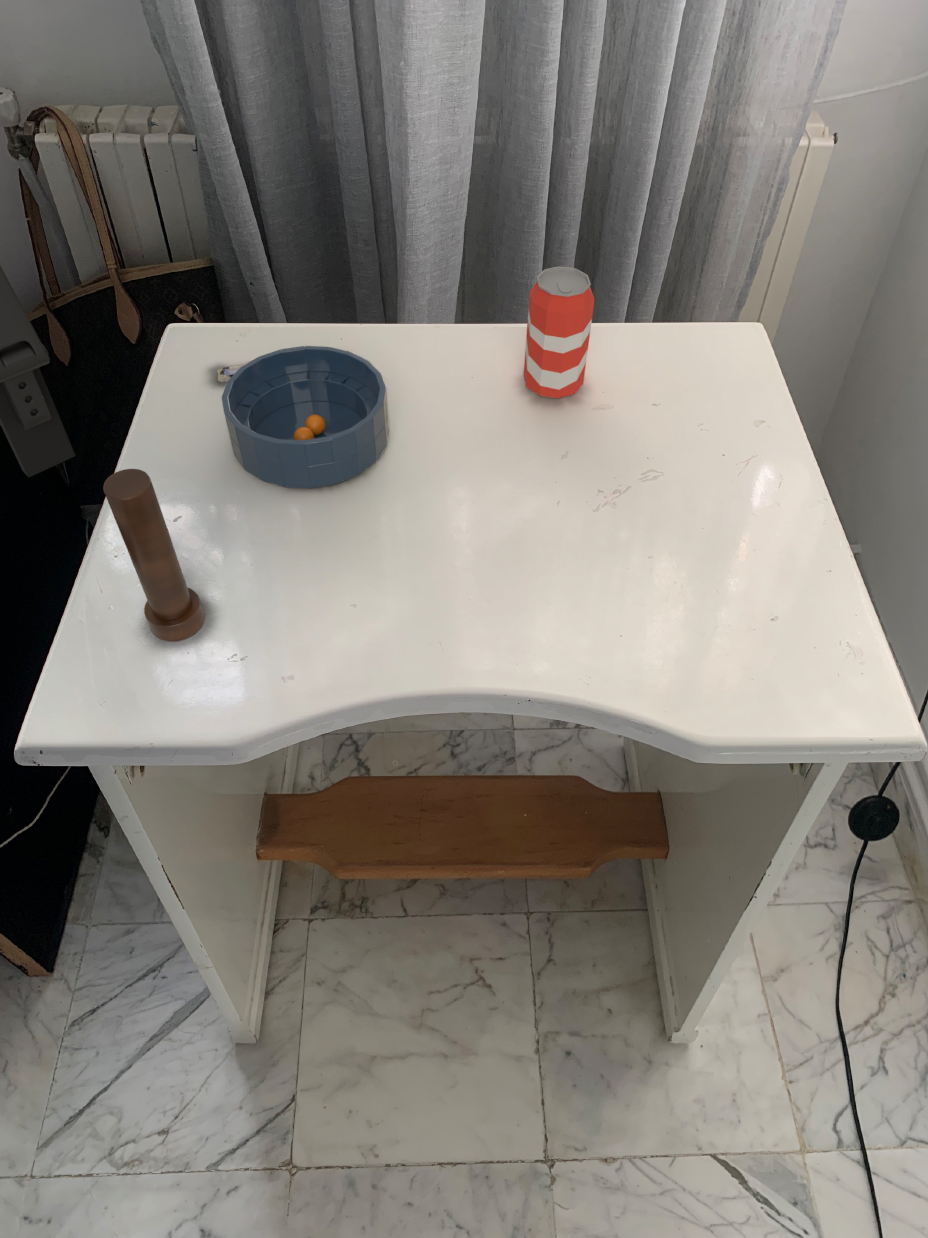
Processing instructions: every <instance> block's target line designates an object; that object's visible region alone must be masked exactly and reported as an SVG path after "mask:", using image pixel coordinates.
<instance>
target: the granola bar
mask: <svg viewBox="0 0 928 1238" xmlns="http://www.w3.org/2000/svg"><path fill="white" fill-rule="evenodd" d="M244 365H245V364H241V365H233V366H232V365H231V366H225V367H222V368H219V369H217V370H216V372H217V382H220V383H221V382H228V380H229V379H230V378H231V377H232V376H233V375H234V374H235V373H236V372H237V371H238V369H239V368H240V367H242V366H244Z"/></svg>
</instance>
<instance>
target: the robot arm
mask: <svg viewBox="0 0 928 1238" xmlns="http://www.w3.org/2000/svg"><path fill="white" fill-rule="evenodd" d="M50 358H51V357H50V356H49V352H48V349H47V348H46V346H45V345H44V344H43V343H42V341H41V340H40V338H39V335H38V333H37V332H36V330H35V328H34V326H33V324H32V322H31V321H30V319H29V317H28V315H27V313H26V311H25V309H24V308H23V305H22V303H21V301H20V300H19V298H18V296H17V294H16V292H15V290H14V289H13V287H12V284H11V283H10V281H9V279H8V277H7V275H6V273H5V272H4V270H3V268H2V266H1V265H0V427H1V430H2V431H3V433H4V435H5V438H6V439H7V442H8V444H9V445H10V448H11V450H12V452H13V454H14V456H15V458H16V460H17V462H18V464H19V466H20V468H21V471H22V472H23V473H24V474H25V475H26V476H27V477H28V478H31V477H33V476H35V475H38V474H40V473H42V472H44V471H46V470H48V469H51V468H53V467H55V466H57V465H59V464H61V463H63V462H65V461H68V460H70V459H72V458H74V457H76V453H75V451H74V449H73V446H72V444H71V442H70V439H69V436H68V434H67V432H66V429H65V426H64V423H63V422H62V420H61V419H62V418H61V417H60V414H59V412H58V410H57V408H56V405H55V402H54V400H53V397H52V394H51V393H50V390H49V388H48V385H47V383H46V381H45V379H44V377H43V374H42V371H41V369H40V368H41V367H43V366H46V365H48V364H50V360H51V359H50Z"/></svg>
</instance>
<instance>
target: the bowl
mask: <svg viewBox="0 0 928 1238" xmlns="http://www.w3.org/2000/svg"><path fill="white" fill-rule="evenodd" d="M243 365H244V366H242V367H240V368H239V369H238V371H237V372H236V373H235V374H234V375H233V376H232V377H231V378H230V379H229V380H228V381H226V384H225V387H224V389H223V392H222V394H221V403H222V410H223V414H224V418H225V423H226V427H227V432H228V436H229V439H230V444H231V448H232V452H233V456H234V458H235V459H236V460H237V461H238V463H239V465H240V466H241V467H242V469H244V471H246V472H247V473H249V474H251V475H252V476H254V477H256V478H257V479H259V480H261V481H262V482H265V483H269V484H273V485H276V486H279V487H283V488H294V489H296V488H297V489H315V488H321V487H328V486H332V485H333V486H334V485H337V484H340V483H343V482H345V481H347V480H350V479H352V478H355V477H357V476H360V475H361V474H362V473H364V472H365V471H366V470H368V469H369V468H370V467H372V466H373V465H374V464H376V463H377V462H378V460H379V459H380V457H381V456H382V454H383V453H384V452H385V450H386V449H387V447H388V441H389V435H390V423H389V408H388V395H387V394H388V392H387V385H386V383H385V380H384V377H383V374H382V372H381V371H380V370H378V369H377V368H376V366H375V365H374V364H373V363H372V362H371V361H370V360H368V359H366V358H364V357H362V356H360V355H358V354H356V353H354V352H352V351H349V350H344V349H342V348H337V347H332V346H324V345H323V346H321V345H300V346H294V347H286V348H280V349H278V350H274V351H272V352H271V351H270V352H268V353H265V354H263V355H259V356H257V357H255V358H254V359H252V360H250V361H248V362H247V363H245V364H243ZM314 414H316V415H319V416H321V417H322V418H323V419H324V420H325V423H326V427H325V430H324V432H323V433H321V434H320V435H314V439H308V440H294V439H293V435H294V432H295V431H296V430H297V429H298V428H300V427H305V421H306V419H307V418H308V417H309V416H311V415H314Z"/></svg>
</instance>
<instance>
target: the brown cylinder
mask: <svg viewBox="0 0 928 1238" xmlns="http://www.w3.org/2000/svg"><path fill="white" fill-rule="evenodd" d="M102 487H103V492H104V496H105V498H106V500H107V502H108V505H109V507H110V510H111V512H112V515H113V518H114V520H115V523H116V525H117V528H118V530H119V532H120V535H121V538H122V541H123V543H124V545H125V549H126V551H127V553H128V556H129V558H130V560H131V563H132V565H133V568H134V570H135V573H136V576H137V578H138V580H139V583H140V585H141V587H142V590H143V593H144V594H145V595H144V596H145V598H146V602H145V604H144V608H143V613H144V617H145V619H146V622H147V624H148V626H149V629H150V631H151V633H152V634H153V636H155V638H157V639H159V640H161V641H164V642H172V643H173V642H181V641H184V640H187V639H190V638H192V637H193V636H194V635H196V634H197V633H198V632H199V631H200V630H201V628H202V627H203V625H204V623H205V618H206V617H205V616H206V615H205V612H204V608H203V605H202V603H201V599H200V596H199V594H197V592H196V590H194V589H192V588H191V587H188V585H187V582H186V579H185V576H184V572H183V570H182V567H181V564H180V561H179V559H178V558H179V557H178V555H177V552H176V549H175V547H174V543H173V540H172V538H171V534H170V532H169V529H168V526H167V523H166V520H165V517H164V514H163V511H162V508H161V506H160V502H159V500H158V497H157V494H156V491H155V488H154V485H153V482H152V479H151V477H150V475H149V474H148V472H146V471H144V470H141V469H139V468H125V469H121V470H118V471H116V472H114V473H112V474H111V475H109V476H108V477H107V479H105V481H104V483H103V486H102Z"/></svg>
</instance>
